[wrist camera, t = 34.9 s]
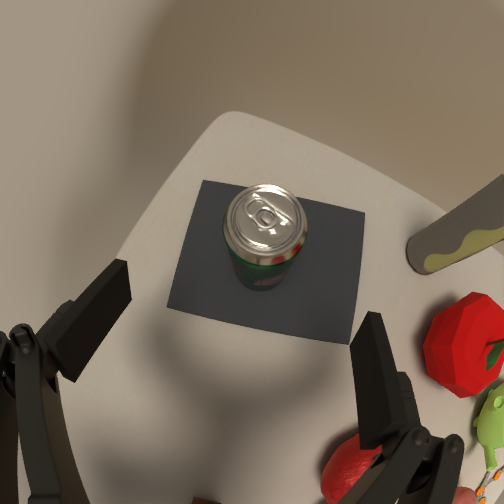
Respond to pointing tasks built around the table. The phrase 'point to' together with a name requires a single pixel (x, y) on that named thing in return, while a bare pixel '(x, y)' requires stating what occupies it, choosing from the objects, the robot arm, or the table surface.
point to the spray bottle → (460, 231)
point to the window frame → (202, 501)
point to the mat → (293, 285)
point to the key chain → (482, 502)
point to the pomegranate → (345, 469)
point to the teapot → (491, 425)
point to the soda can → (264, 235)
